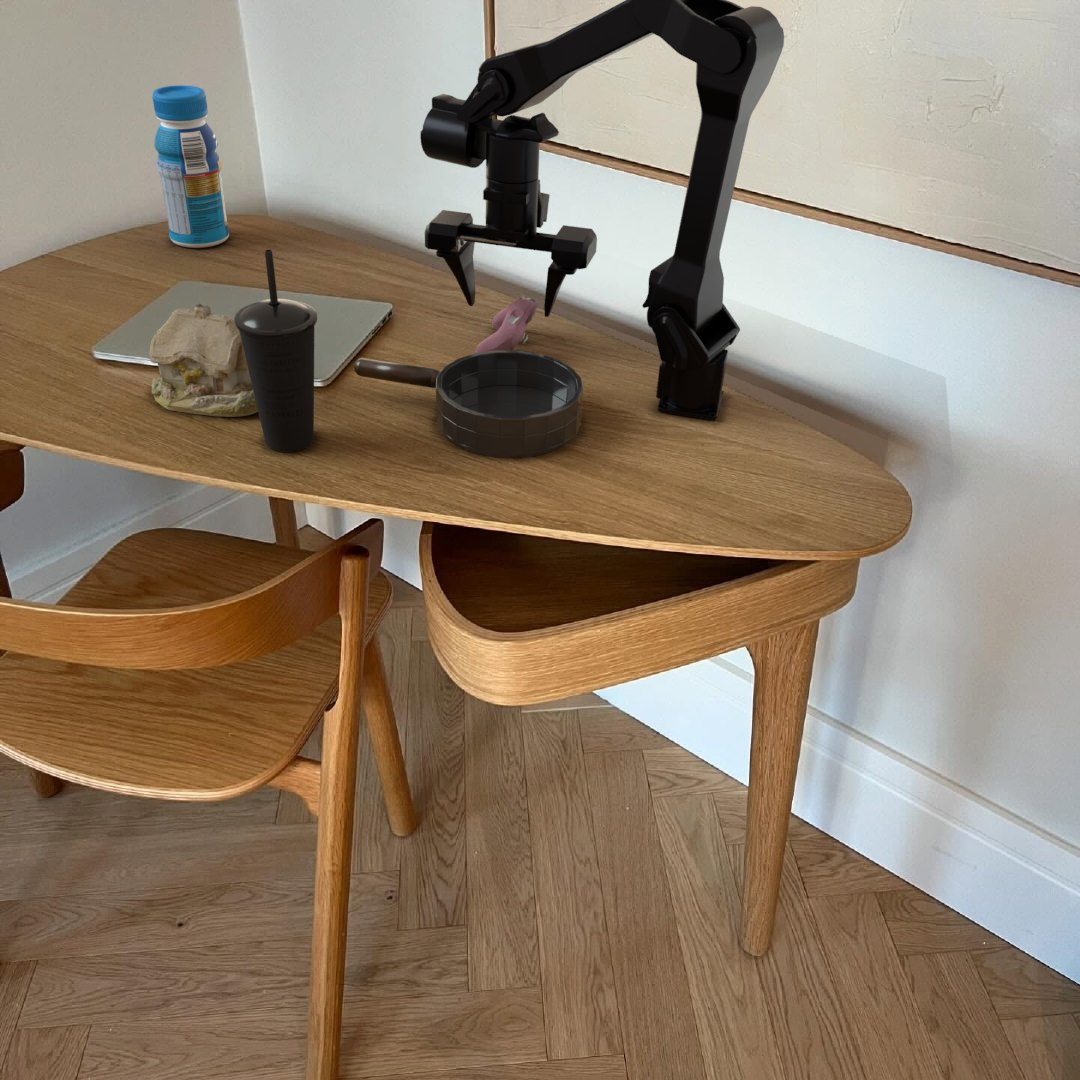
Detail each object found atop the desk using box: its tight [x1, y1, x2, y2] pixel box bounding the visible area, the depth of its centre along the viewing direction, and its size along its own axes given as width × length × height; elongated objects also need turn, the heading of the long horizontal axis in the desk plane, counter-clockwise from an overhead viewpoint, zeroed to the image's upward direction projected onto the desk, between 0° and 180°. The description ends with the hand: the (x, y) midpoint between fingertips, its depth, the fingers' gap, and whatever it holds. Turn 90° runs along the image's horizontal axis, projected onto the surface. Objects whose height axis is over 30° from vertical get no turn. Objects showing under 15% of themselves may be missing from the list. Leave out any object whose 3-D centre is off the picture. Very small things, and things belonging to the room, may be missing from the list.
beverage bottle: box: [151, 84, 230, 249], centre depth 149 cm, size 8×8×20 cm
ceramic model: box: [148, 303, 258, 418], centre depth 116 cm, size 14×11×10 cm
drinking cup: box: [233, 249, 318, 453], centre depth 105 cm, size 8×8×20 cm
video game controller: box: [475, 294, 540, 353], centre depth 129 cm, size 10×5×7 cm, turn 168°
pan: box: [435, 350, 584, 459], centre depth 115 cm, size 15×15×4 cm
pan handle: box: [353, 357, 441, 389], centre depth 116 cm, size 10×2×2 cm, turn 75°
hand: (509, 310), depth 128 cm, fingers open, 9 cm apart
